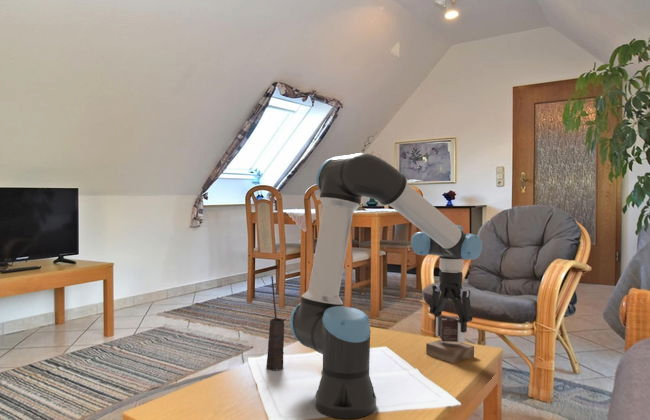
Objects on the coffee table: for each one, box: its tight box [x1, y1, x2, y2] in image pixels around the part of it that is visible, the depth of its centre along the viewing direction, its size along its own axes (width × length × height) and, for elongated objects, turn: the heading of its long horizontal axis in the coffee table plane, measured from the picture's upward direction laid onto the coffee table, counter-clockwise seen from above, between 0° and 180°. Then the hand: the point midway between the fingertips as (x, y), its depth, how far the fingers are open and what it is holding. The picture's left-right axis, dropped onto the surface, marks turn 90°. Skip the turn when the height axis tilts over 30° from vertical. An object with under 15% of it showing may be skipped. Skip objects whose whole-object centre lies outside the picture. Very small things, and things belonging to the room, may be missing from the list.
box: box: [438, 315, 460, 342], centre depth 152 cm, size 6×6×7 cm
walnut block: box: [425, 339, 475, 364], centre depth 152 cm, size 11×11×4 cm
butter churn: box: [265, 275, 287, 371], centre depth 138 cm, size 9×10×28 cm
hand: (449, 338), depth 152 cm, fingers closed on box, 8 cm apart
